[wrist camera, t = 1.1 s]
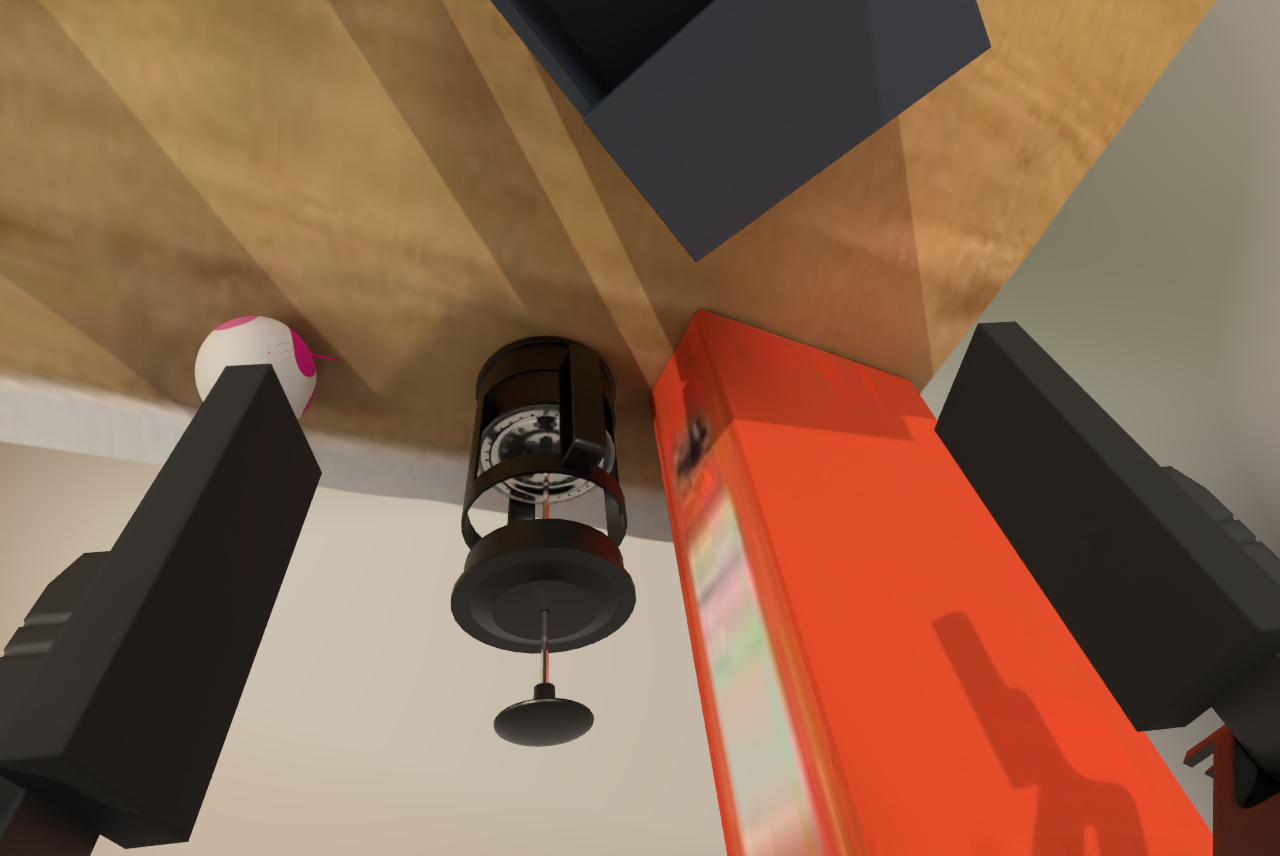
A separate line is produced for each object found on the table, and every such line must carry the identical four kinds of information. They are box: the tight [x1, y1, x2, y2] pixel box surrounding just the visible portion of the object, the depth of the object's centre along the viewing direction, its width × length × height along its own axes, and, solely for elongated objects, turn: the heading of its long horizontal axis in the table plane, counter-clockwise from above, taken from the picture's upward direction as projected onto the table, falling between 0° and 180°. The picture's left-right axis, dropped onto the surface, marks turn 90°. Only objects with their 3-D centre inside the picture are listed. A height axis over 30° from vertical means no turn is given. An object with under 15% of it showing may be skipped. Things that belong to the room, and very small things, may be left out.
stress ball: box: [195, 316, 343, 420], centre depth 38 cm, size 8×8×7 cm
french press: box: [451, 336, 636, 747], centre depth 35 cm, size 12×9×23 cm
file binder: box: [649, 309, 1213, 856], centre depth 34 cm, size 8×17×32 cm, turn 67°
